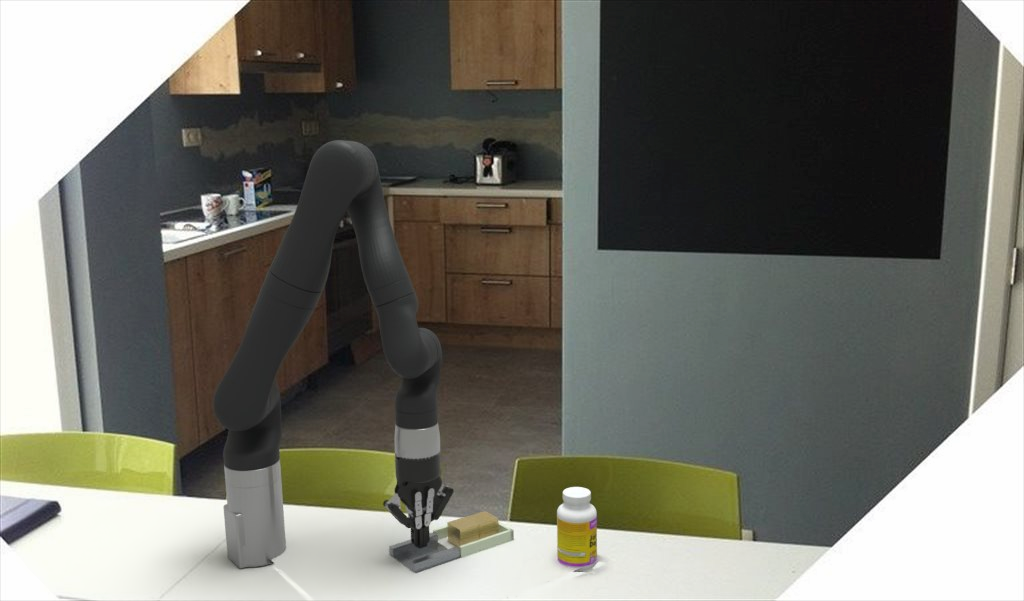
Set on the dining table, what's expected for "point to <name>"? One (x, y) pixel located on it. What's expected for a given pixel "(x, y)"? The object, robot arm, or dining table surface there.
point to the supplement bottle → (577, 530)
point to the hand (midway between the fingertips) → (420, 546)
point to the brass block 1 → (463, 531)
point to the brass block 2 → (486, 524)
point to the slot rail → (423, 554)
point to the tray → (481, 540)
